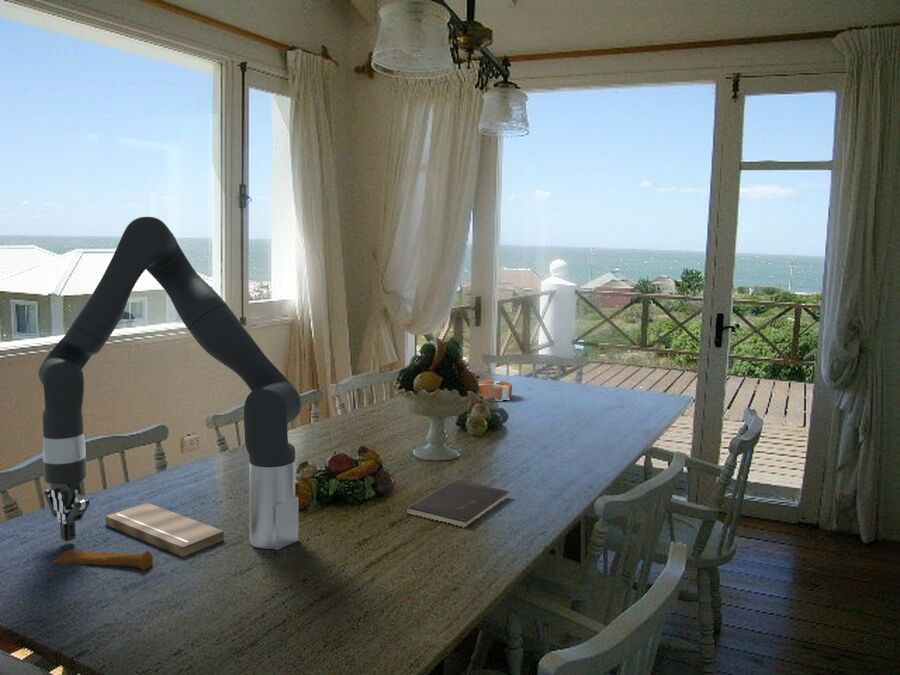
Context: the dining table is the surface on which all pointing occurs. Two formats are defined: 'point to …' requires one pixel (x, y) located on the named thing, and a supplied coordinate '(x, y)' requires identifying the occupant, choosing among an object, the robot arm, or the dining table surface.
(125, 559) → the primitive tool
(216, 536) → the pale wooden board
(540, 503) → the dining table surface
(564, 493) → the dining table surface
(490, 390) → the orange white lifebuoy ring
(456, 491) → the hardcover book
